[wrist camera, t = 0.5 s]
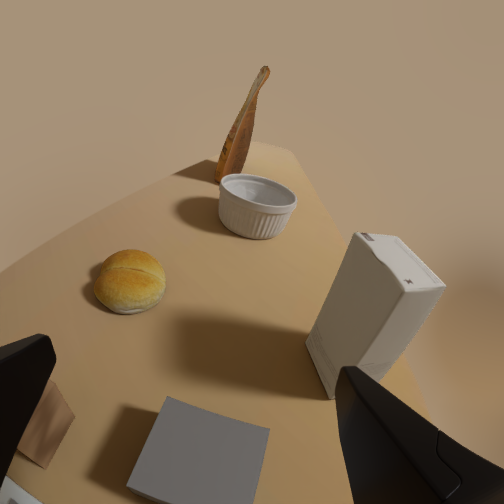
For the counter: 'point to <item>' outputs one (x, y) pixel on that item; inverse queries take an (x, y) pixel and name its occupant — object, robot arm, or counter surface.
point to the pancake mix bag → (240, 133)
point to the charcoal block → (199, 458)
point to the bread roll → (130, 282)
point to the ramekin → (254, 205)
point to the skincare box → (372, 308)
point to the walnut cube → (46, 426)
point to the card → (15, 494)
